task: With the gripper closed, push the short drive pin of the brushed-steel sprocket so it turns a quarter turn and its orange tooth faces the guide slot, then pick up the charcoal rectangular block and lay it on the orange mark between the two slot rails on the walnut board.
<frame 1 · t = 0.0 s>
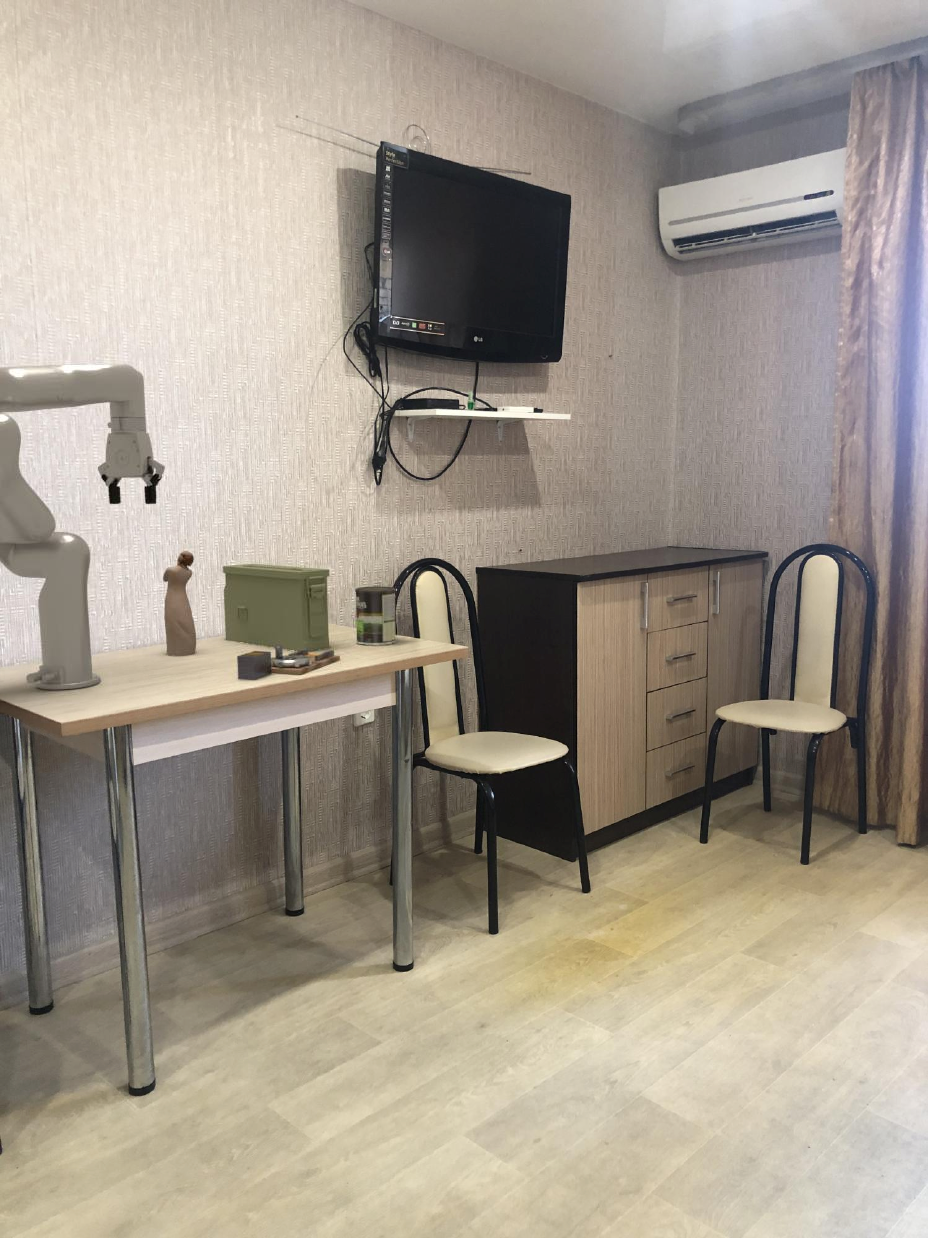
hand: (132, 503, 224), 37 cm above the table, tool pointing down, fingers open, 9 cm apart
ammunition box: (277, 644, 255), on the table
board: (299, 665, 225), on the table
sprocket: (290, 655, 220), point 3 cm above the table, hinge at 0.0°
coffee can: (376, 643, 256), on the table
charcoal rectangular block: (255, 676, 213), on the table
figurine: (181, 653, 243), on the table
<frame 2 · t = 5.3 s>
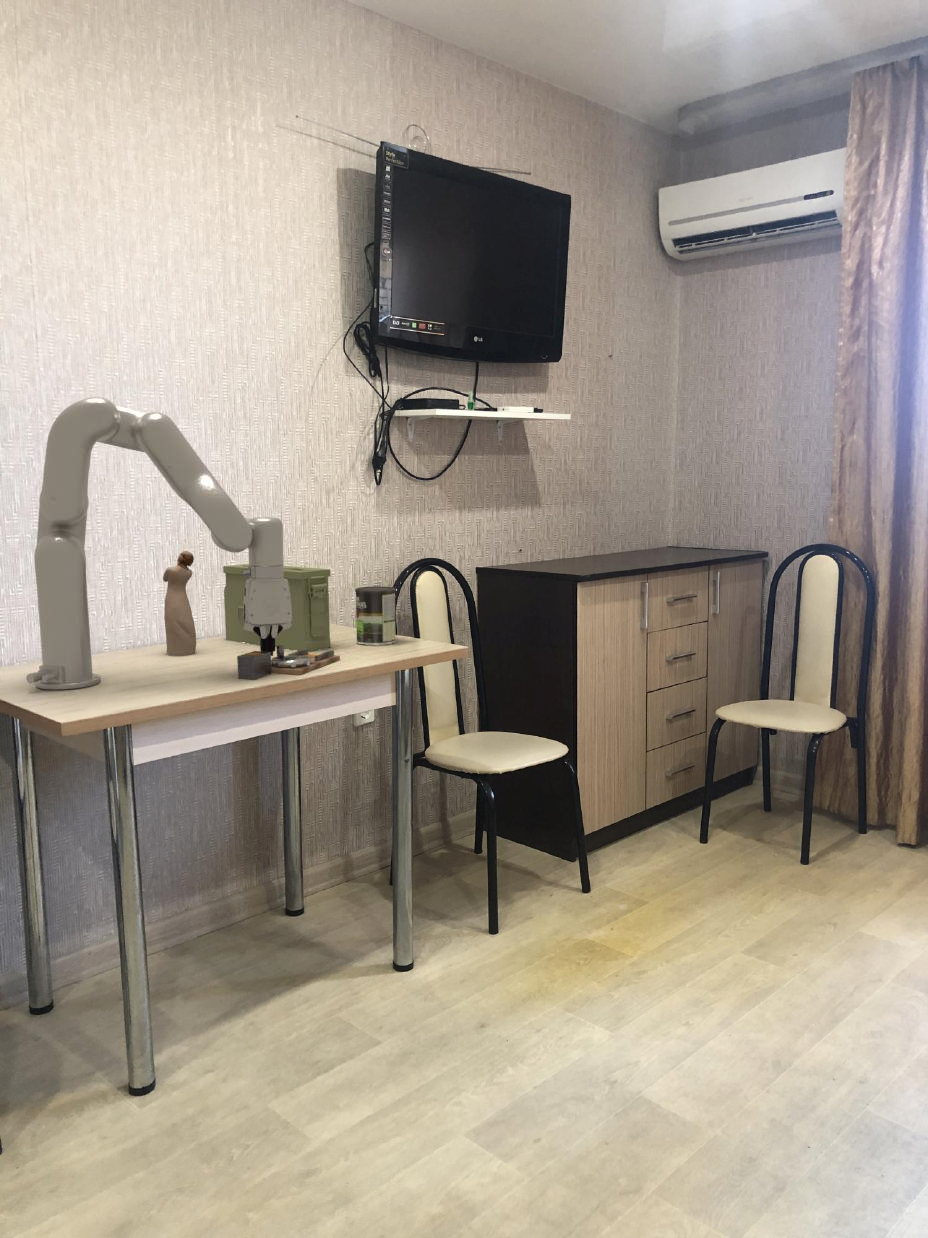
hand: (267, 655, 221), 3 cm above the table, tool pointing down, fingers closed
sprocket: (290, 655, 220), point 3 cm above the table, hinge at 10.0°, touching gripper
everything else where it was.
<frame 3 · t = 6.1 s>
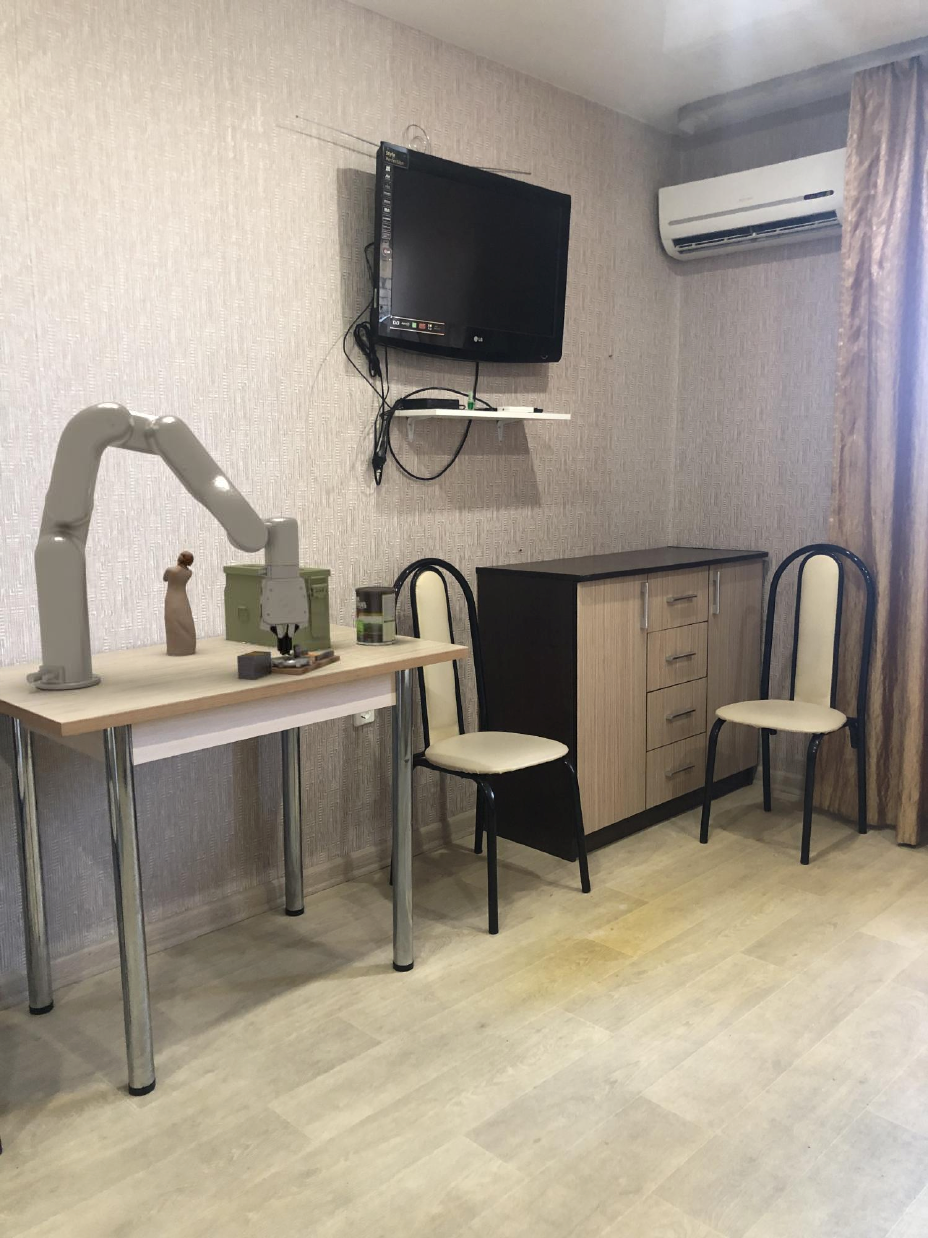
hand: (284, 654, 222), 3 cm above the table, tool pointing down, fingers closed
sprocket: (290, 655, 220), point 3 cm above the table, hinge at 87.5°, touching gripper
everything else where it was.
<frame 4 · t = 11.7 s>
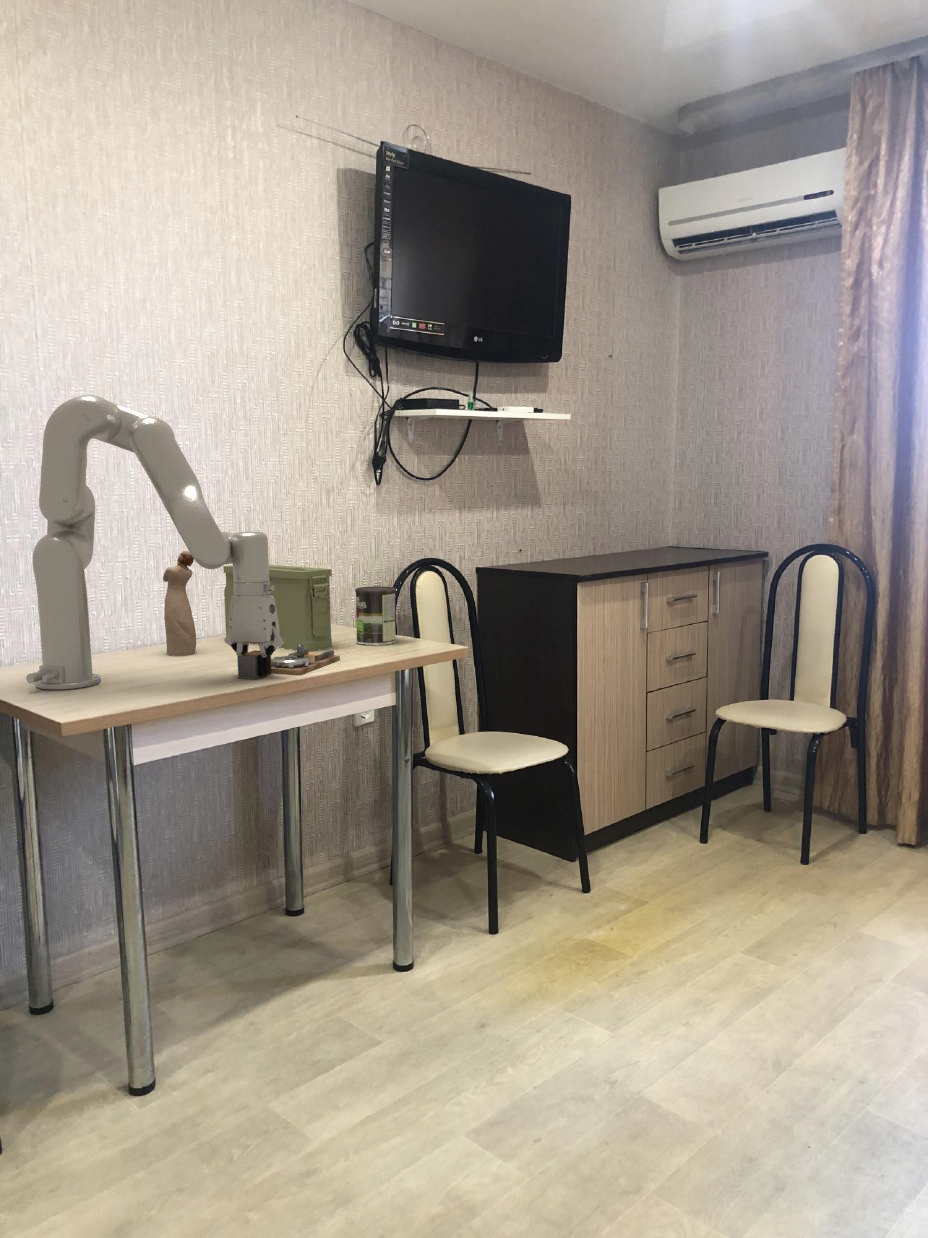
hand: (255, 673, 213), 1 cm above the table, tool pointing down, fingers closed on charcoal rectangular block, 4 cm apart
sprocket: (290, 655, 220), point 3 cm above the table, hinge at 105.7°
charcoal rectangular block: (255, 676, 213), on the table, touching gripper
everything else where it was.
when the fingers open (3 cm above the table, at t = 16.7 s): charcoal rectangular block drops 1 cm, resting on board.
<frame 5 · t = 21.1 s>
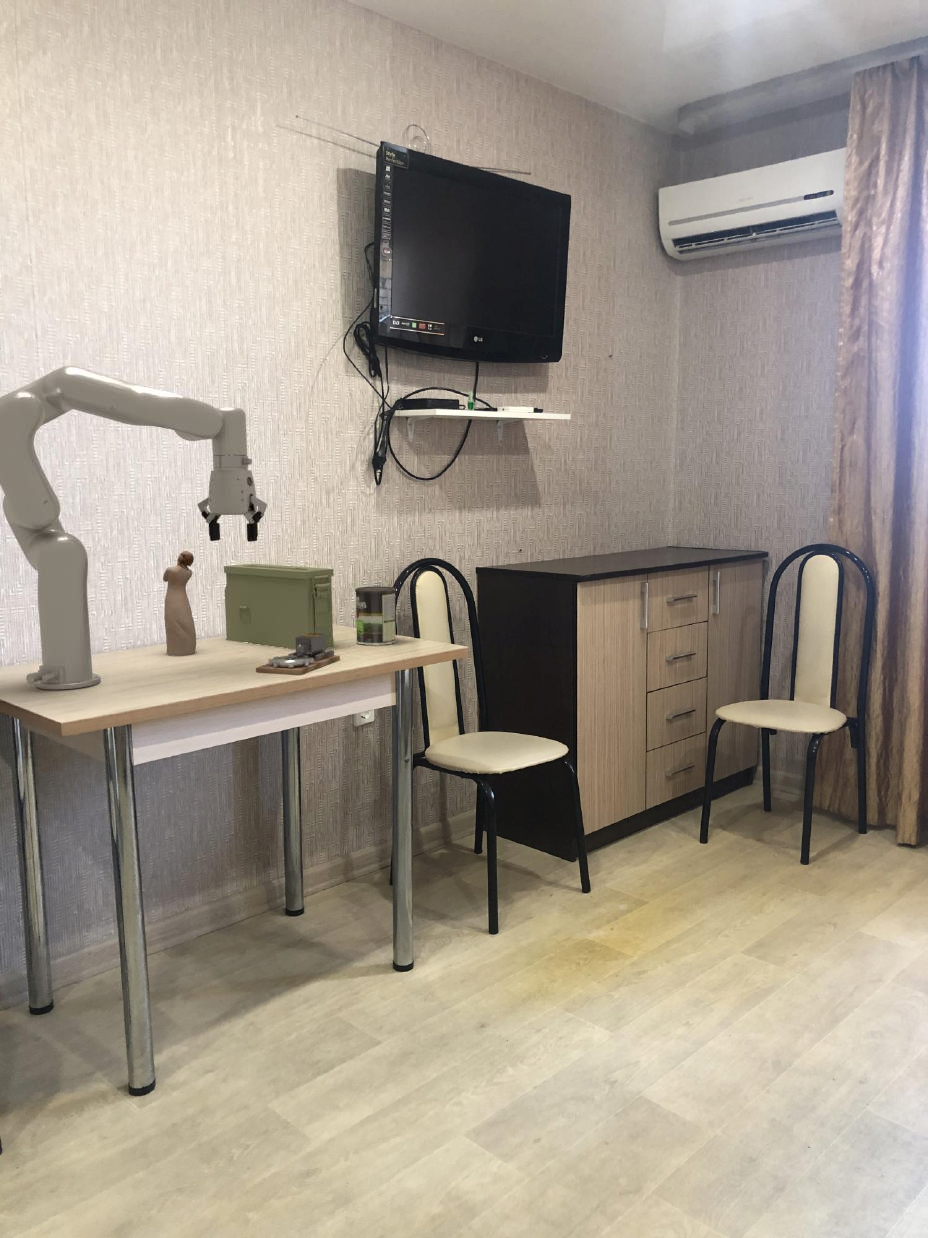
hand: (233, 540, 223), 28 cm above the table, tool pointing down, fingers open, 9 cm apart
charcoal rectangular block: (311, 657, 230), point 1 cm above the table, touching board
everything else where it was.
at the end: sprocket at +106° (first picture: +0°); charcoal rectangular block 0.1 cm from the target spot, point 1.1 cm above the table; charcoal rectangular block tilted 0° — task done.
